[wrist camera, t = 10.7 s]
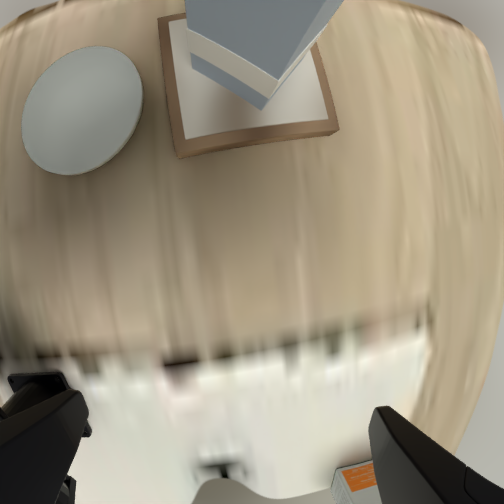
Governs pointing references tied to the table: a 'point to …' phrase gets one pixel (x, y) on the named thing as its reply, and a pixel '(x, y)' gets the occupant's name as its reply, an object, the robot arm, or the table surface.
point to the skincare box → (356, 485)
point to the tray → (239, 102)
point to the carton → (253, 41)
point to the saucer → (82, 110)
